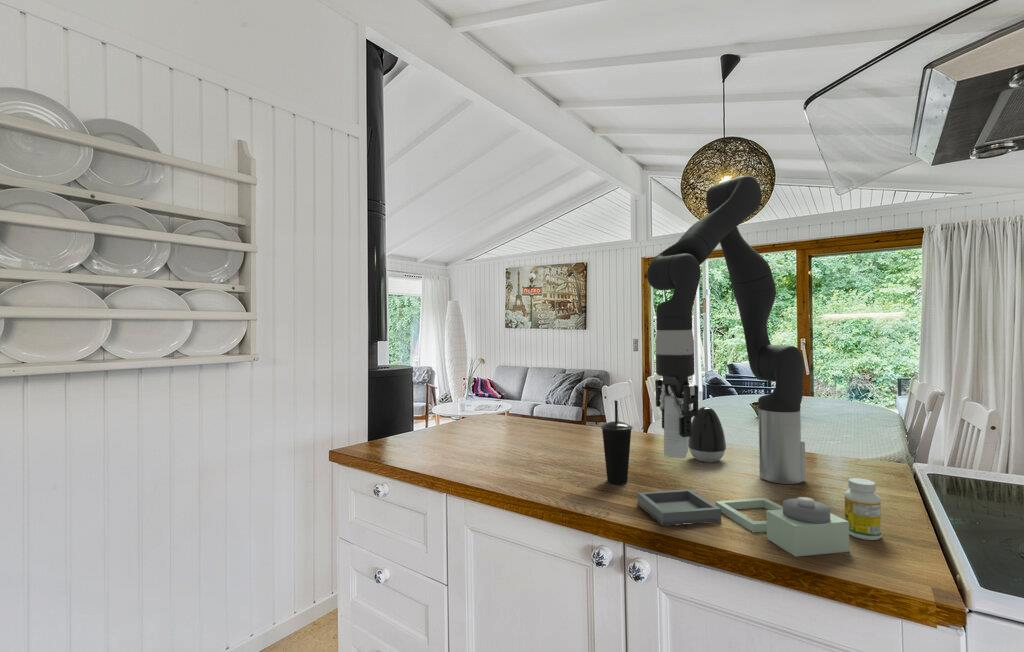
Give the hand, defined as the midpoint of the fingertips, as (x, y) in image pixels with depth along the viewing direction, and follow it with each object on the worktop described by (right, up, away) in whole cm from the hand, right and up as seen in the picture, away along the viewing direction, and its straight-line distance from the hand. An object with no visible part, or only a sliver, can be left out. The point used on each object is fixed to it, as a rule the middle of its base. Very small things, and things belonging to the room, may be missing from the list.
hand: (676, 432), depth 100 cm
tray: (0, -16, 0) cm, 16 cm away
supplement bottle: (+30, -16, -12) cm, 36 cm away
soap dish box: (+16, -16, -8) cm, 24 cm away
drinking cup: (-8, -17, +21) cm, 28 cm away
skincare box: (0, -5, 0) cm, 5 cm away
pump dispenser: (+22, -17, +39) cm, 48 cm away
